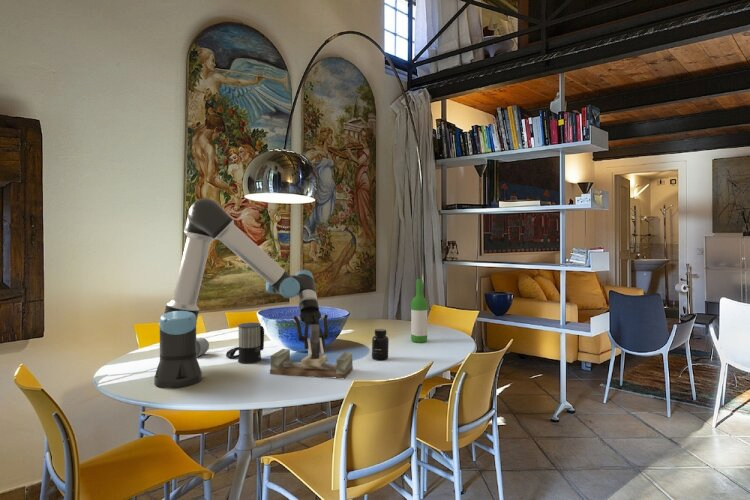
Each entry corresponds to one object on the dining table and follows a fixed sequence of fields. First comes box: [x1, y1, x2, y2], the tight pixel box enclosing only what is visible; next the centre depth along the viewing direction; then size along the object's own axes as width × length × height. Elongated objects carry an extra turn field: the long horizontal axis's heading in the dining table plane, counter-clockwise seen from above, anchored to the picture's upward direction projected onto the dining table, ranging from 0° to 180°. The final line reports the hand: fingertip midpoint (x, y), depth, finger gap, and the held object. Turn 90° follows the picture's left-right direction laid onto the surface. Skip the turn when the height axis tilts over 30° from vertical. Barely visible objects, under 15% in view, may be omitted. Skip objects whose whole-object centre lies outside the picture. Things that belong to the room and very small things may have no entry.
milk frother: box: [225, 322, 265, 364], centre depth 190 cm, size 14×16×15 cm
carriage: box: [300, 324, 328, 369], centre depth 172 cm, size 7×9×16 cm
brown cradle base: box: [269, 348, 354, 379], centre depth 173 cm, size 28×12×6 cm, turn 78°
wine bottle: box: [410, 278, 428, 344], centre depth 224 cm, size 8×8×30 cm
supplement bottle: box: [371, 328, 390, 361], centre depth 192 cm, size 7×7×12 cm
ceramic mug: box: [196, 337, 210, 358], centre depth 196 cm, size 11×8×8 cm
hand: (316, 355), depth 169 cm, fingers closed on carriage, 4 cm apart
